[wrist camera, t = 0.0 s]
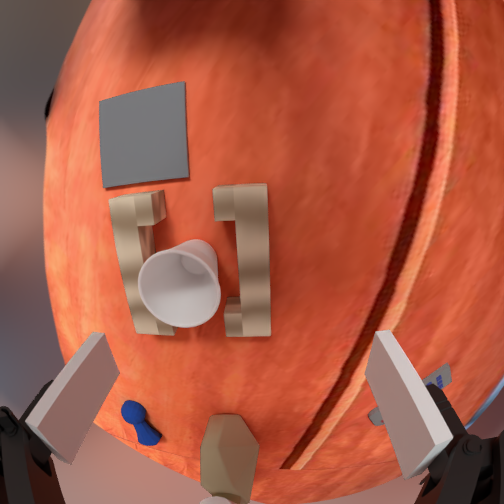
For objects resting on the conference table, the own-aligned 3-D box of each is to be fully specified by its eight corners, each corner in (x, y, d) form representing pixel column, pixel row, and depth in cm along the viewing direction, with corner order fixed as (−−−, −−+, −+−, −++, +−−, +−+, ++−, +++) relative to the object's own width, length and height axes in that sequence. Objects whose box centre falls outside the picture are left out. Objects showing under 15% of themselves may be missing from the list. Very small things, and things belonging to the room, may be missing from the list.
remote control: (448, 377, 50) (452, 382, 48) (374, 423, 54) (376, 429, 52) (445, 360, 48) (450, 366, 46) (365, 411, 52) (368, 417, 50)
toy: (166, 433, 57) (141, 399, 52) (162, 451, 51) (133, 419, 46) (145, 431, 58) (118, 397, 53) (139, 448, 52) (110, 416, 47)
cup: (190, 298, 42) (171, 339, 32) (153, 246, 40) (122, 275, 29) (243, 269, 41) (237, 307, 30) (206, 212, 38) (187, 232, 28)
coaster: (101, 101, 32) (99, 101, 32) (185, 82, 32) (184, 81, 31) (105, 187, 37) (103, 188, 36) (189, 176, 36) (188, 177, 36)
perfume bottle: (224, 451, 58) (214, 539, 31) (190, 398, 50) (162, 514, 24) (269, 448, 57) (270, 540, 30) (246, 393, 49) (239, 521, 23)
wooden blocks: (124, 194, 37) (108, 199, 33) (266, 182, 36) (267, 186, 32) (147, 317, 44) (136, 333, 39) (269, 317, 43) (270, 335, 38)
